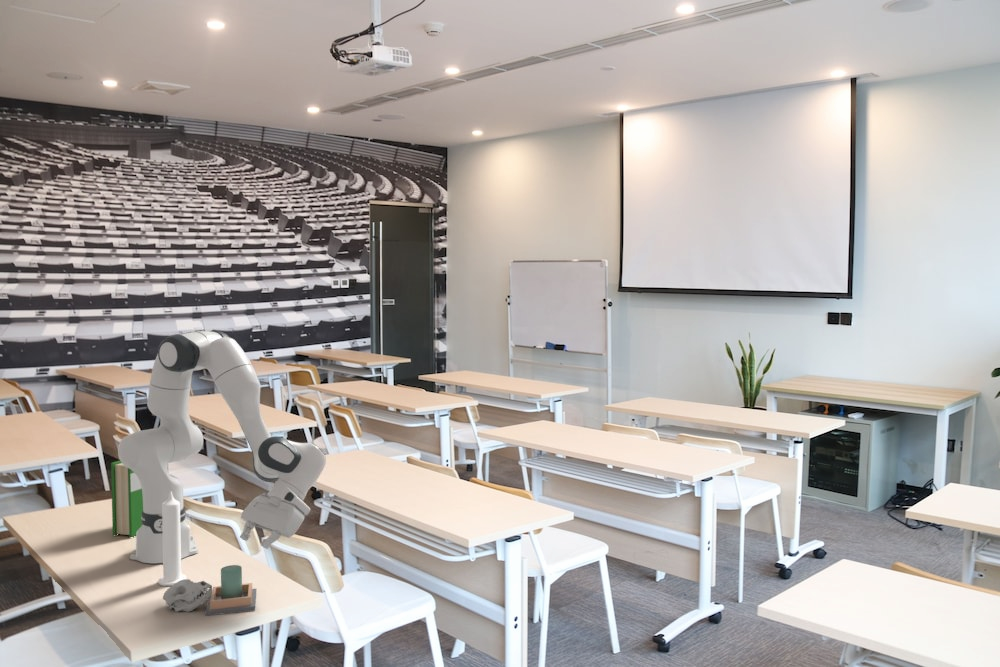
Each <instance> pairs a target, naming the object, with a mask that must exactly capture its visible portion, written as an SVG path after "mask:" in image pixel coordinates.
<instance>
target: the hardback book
mask: <svg viewBox="0 0 1000 667" xmlns="http://www.w3.org/2000/svg"><path fill="white" fill-rule="evenodd" d="M167 469H168V470H169V463H167ZM110 478H111V515H112V516H111V518H112V536H113V535H117V534H120V535H127V536H129V537H133V538H135V537H134V536H136V533H137V531H138V529H139V528H141V526H142V525H143V524H142V519H141V515H142V511H143V496H142V487H141V483H140V481H139V479H138V477H137V475H136V474H135V473H134V472H133V471H132V470H131V469H129V468H127V467H126V466H124V465H123V464H122V462H121V461H120V460H117V461H114V462H111V463H110ZM117 536H118V535H117Z"/></svg>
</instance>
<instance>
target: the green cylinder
mask: <svg viewBox="0 0 1000 667" xmlns="http://www.w3.org/2000/svg"><path fill="white" fill-rule="evenodd" d="M242 570H243V568H242V566H241V565H237V564H232V565H226V566H224V567H222V568H221V569H220V586H221V599H228V598H237V597H242V584H243V573H242Z"/></svg>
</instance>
